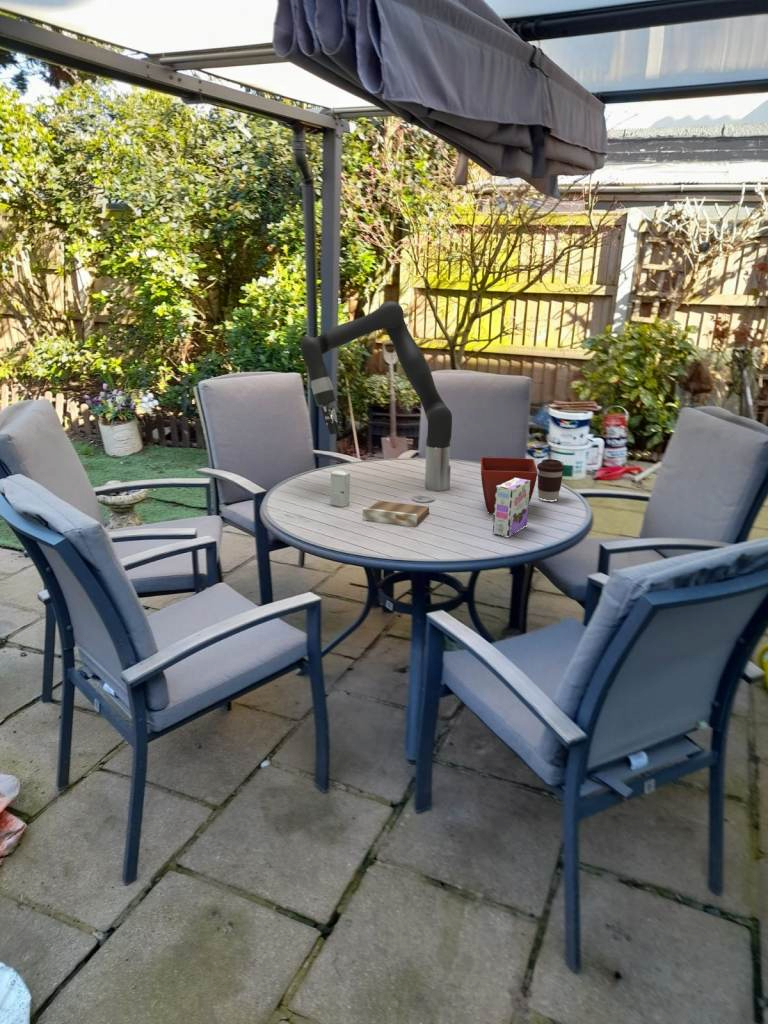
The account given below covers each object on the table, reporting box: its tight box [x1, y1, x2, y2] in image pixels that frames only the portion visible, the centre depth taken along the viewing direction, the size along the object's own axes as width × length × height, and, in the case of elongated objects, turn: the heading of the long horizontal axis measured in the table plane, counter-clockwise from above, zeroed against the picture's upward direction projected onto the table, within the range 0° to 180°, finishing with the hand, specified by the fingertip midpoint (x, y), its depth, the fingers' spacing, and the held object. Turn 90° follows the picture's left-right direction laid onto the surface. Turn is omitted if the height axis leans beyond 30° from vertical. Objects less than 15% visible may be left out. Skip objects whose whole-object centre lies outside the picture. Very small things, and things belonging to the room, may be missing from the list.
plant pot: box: [480, 456, 539, 514], centre depth 239 cm, size 19×19×17 cm
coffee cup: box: [536, 458, 565, 500], centre depth 251 cm, size 10×10×15 cm
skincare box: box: [330, 470, 351, 508], centre depth 243 cm, size 6×4×12 cm
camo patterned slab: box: [362, 500, 430, 527], centre depth 232 cm, size 19×16×4 cm
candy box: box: [492, 478, 530, 536], centre depth 217 cm, size 14×6×16 cm, turn 143°
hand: (335, 433), depth 250 cm, fingers open, 8 cm apart
